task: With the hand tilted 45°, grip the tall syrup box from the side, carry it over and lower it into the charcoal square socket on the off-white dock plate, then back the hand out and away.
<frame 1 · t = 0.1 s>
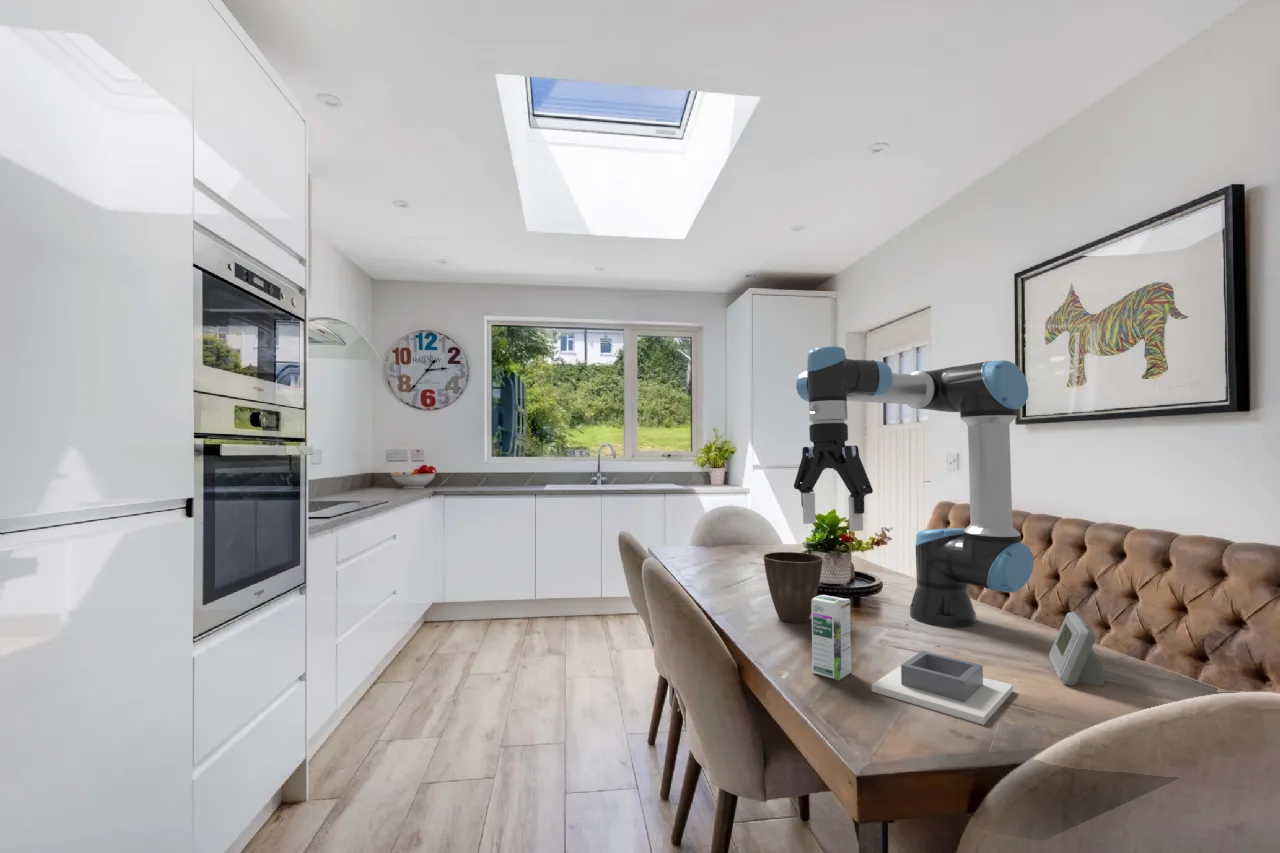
hand: (831, 527, 118), 28 cm above the table, tool pointing down, fingers open, 13 cm apart
syrup box: (831, 674, 113), on the table
socket dock: (942, 691, 104), on the table
plant pot: (793, 619, 149), on the table
digital clock: (1071, 675, 112), on the table
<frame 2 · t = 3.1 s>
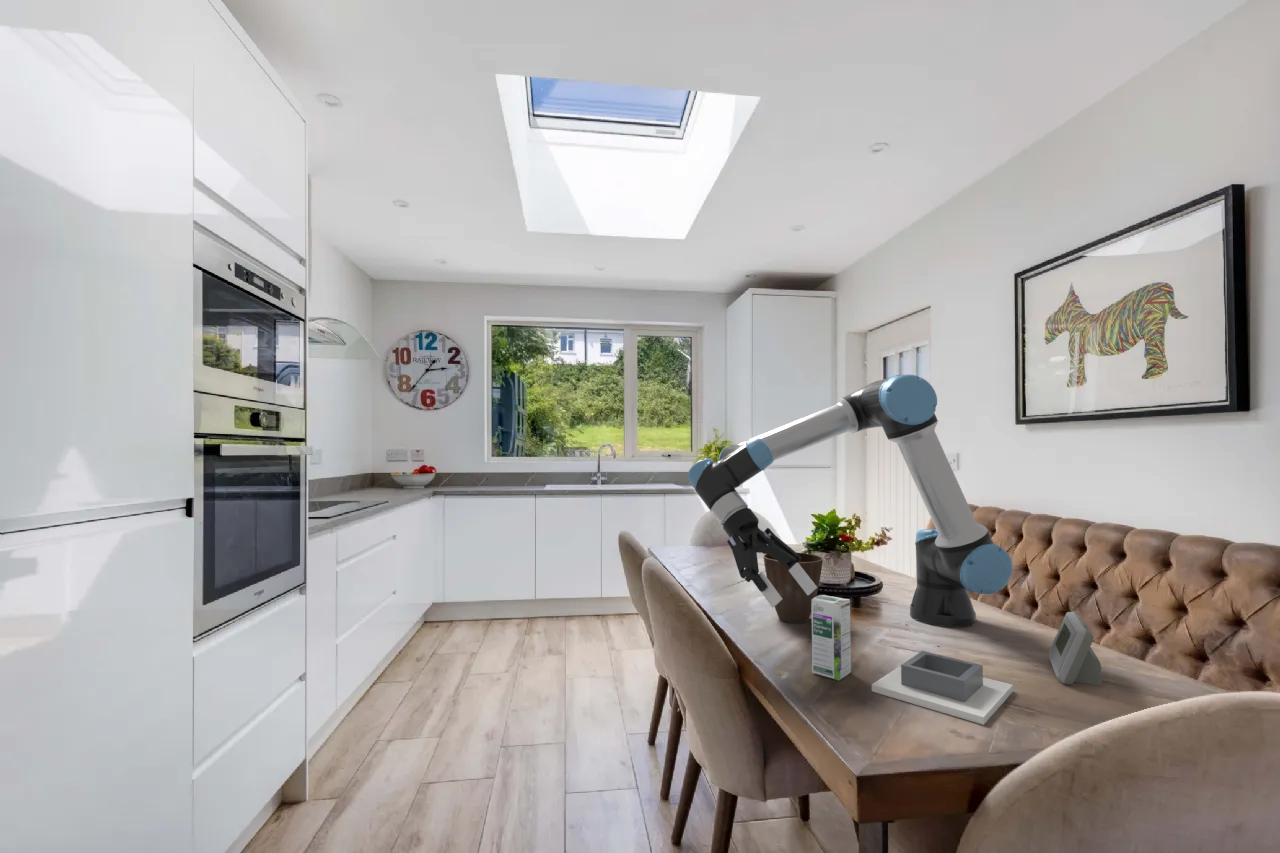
hand: (795, 597, 118), 13 cm above the table, tool tilted 45°, fingers open, 13 cm apart
nothing on the table moved.
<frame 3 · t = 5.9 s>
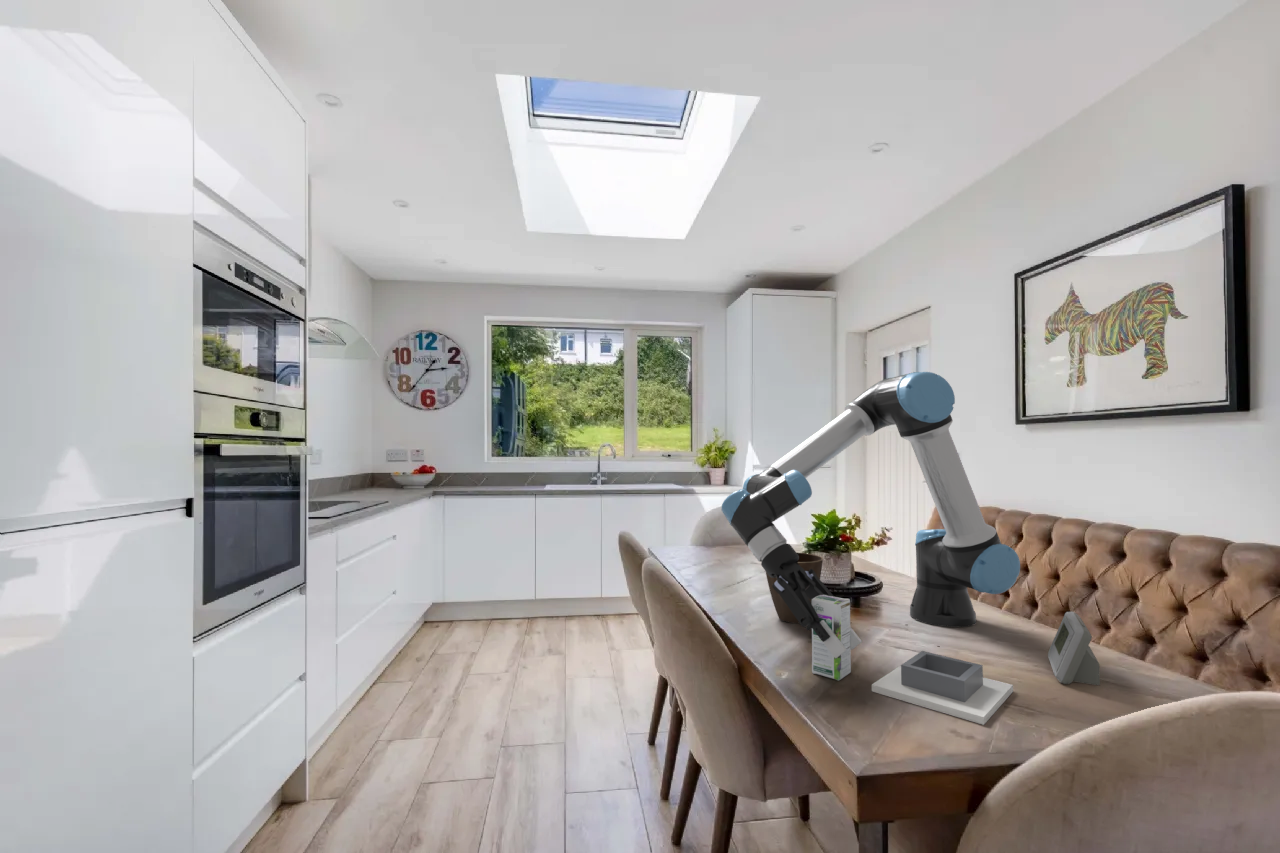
hand: (848, 649, 111), 5 cm above the table, tool tilted 45°, fingers closed on syrup box, 6 cm apart
syrup box: (831, 674, 113), on the table, touching gripper
everything else where it was.
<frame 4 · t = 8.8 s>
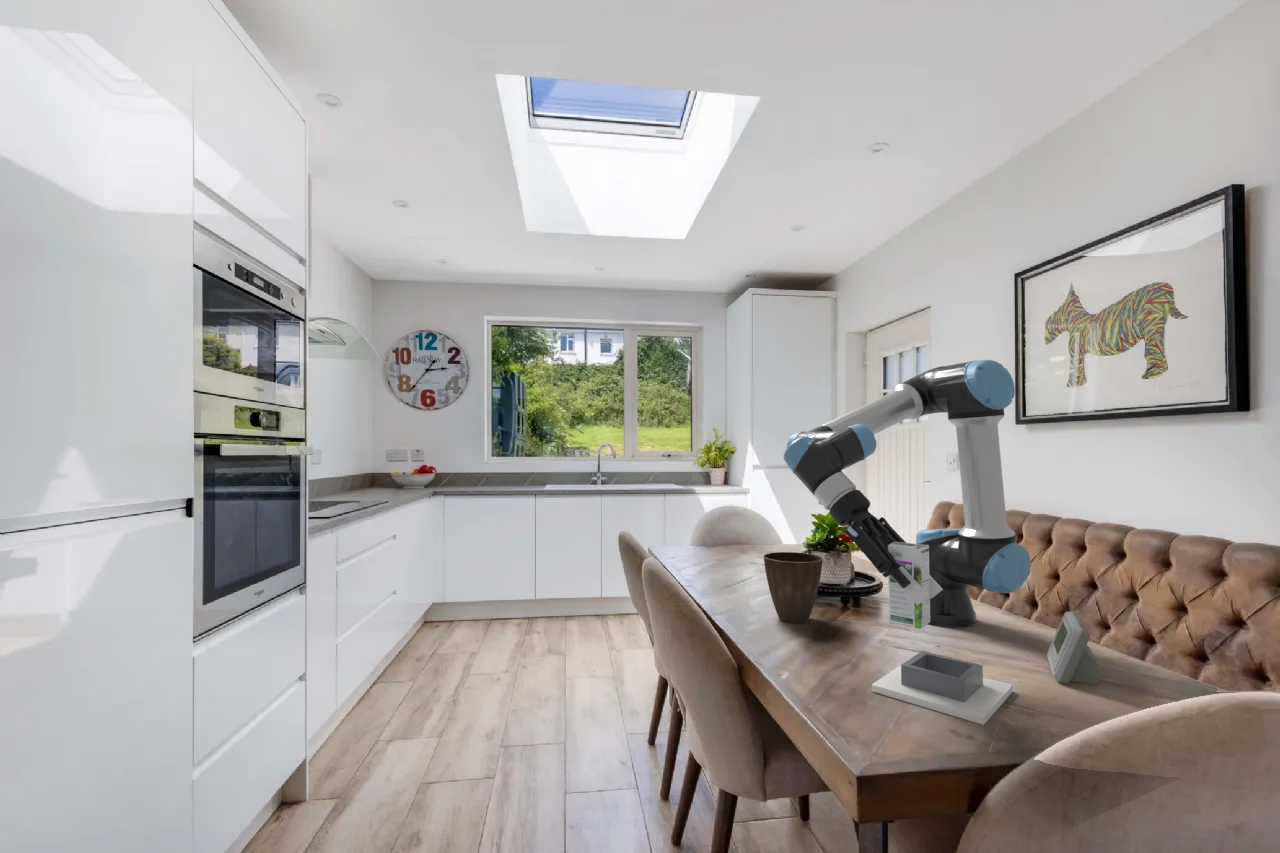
hand: (930, 597, 104), 17 cm above the table, tool tilted 45°, fingers closed on syrup box, 6 cm apart
syrup box: (909, 624, 107), point 12 cm above the table, touching gripper
everything else where it was.
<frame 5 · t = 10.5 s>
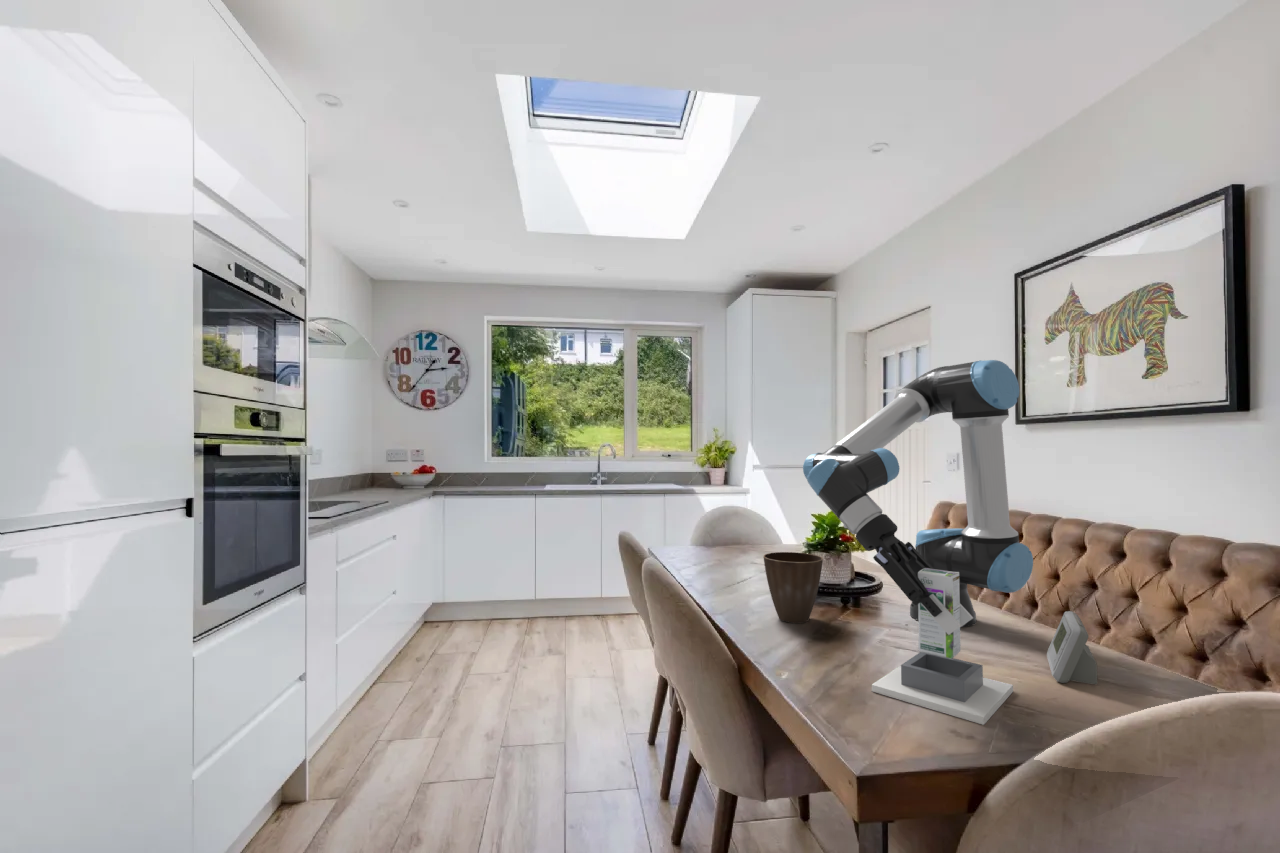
hand: (961, 626, 102), 12 cm above the table, tool tilted 45°, fingers closed on syrup box, 6 cm apart
syrup box: (939, 652, 105), point 7 cm above the table, touching gripper
everything else where it was.
when the fingers open (8 cm above the table, at t = 11.8 s): syrup box drops 1 cm, resting on socket dock.
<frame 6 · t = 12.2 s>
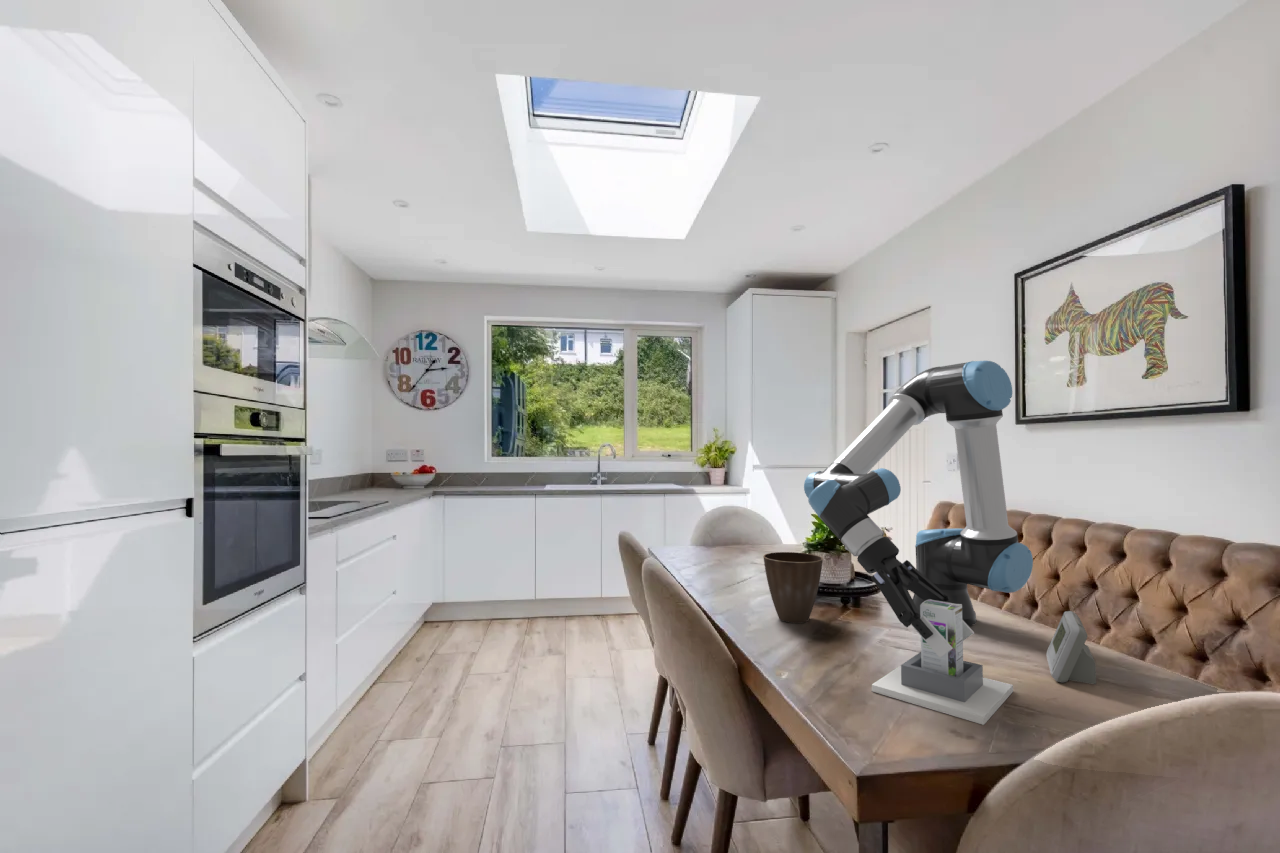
hand: (957, 644, 103), 9 cm above the table, tool tilted 45°, fingers open, 11 cm apart
syrup box: (942, 685, 105), point 1 cm above the table, touching socket dock
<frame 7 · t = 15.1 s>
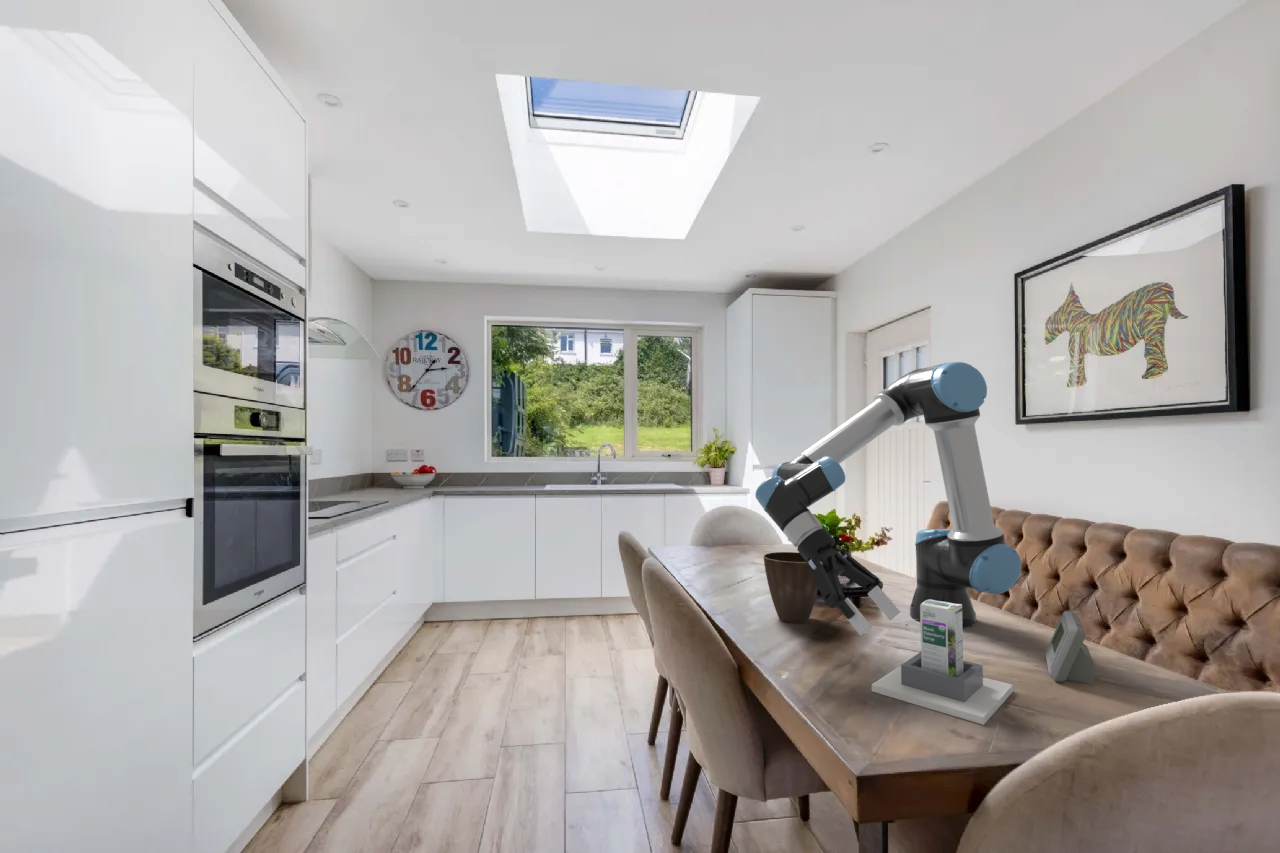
hand: (881, 623, 113), 10 cm above the table, tool tilted 45°, fingers open, 13 cm apart
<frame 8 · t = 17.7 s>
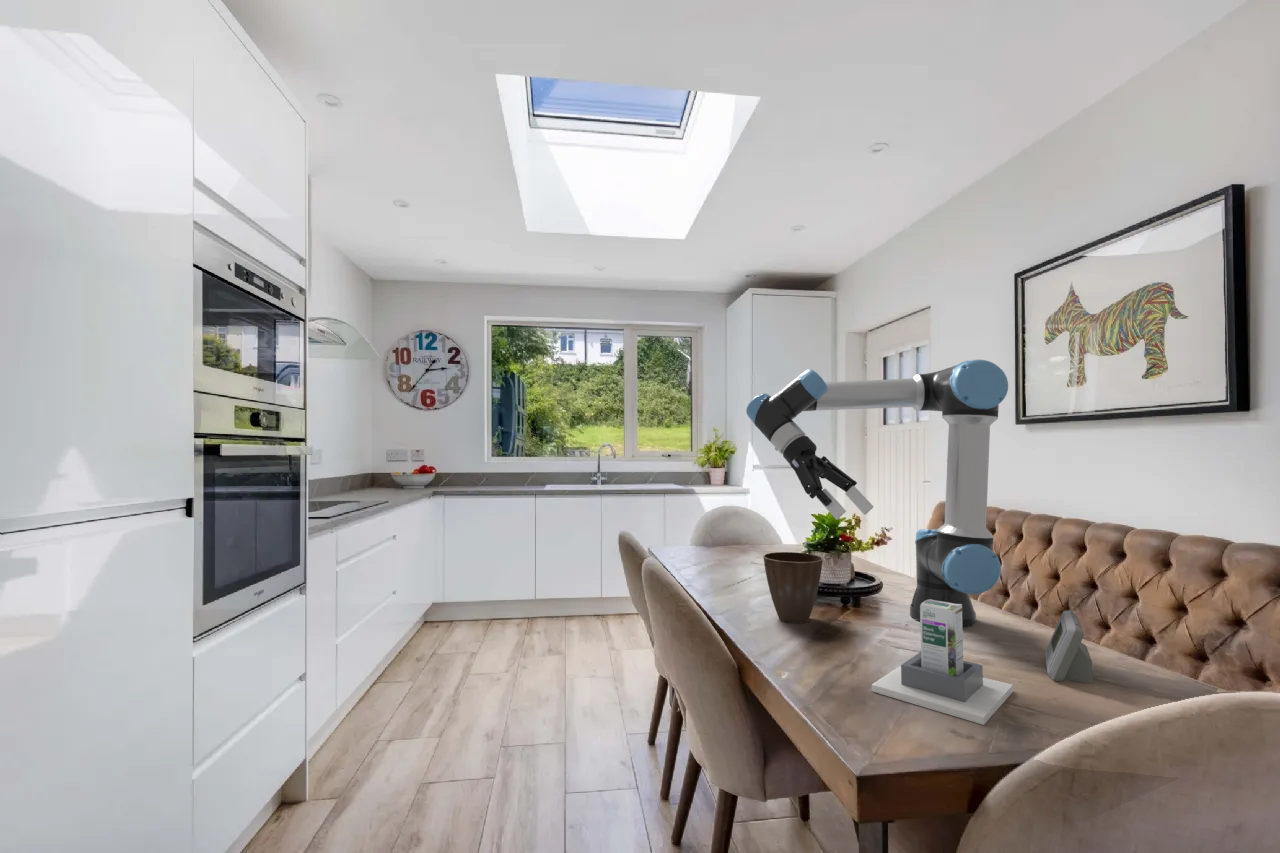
hand: (855, 513, 127), 30 cm above the table, tool tilted 45°, fingers open, 13 cm apart
at the end: syrup box 0.3 cm off-centre on the socket dock, point 1.0 cm above the socket dock's base; syrup box tilted 0°; the gripper is holding nothing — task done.
